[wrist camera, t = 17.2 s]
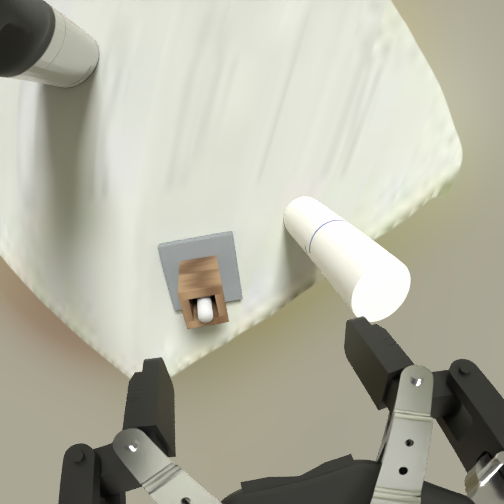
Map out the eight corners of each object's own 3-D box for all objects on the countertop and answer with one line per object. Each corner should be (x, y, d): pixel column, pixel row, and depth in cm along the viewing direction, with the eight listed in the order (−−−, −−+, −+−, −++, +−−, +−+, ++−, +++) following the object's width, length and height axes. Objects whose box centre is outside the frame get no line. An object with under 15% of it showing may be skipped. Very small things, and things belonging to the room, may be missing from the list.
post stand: (175, 306, 55) (172, 356, 42) (158, 244, 50) (149, 284, 37) (241, 294, 56) (255, 342, 44) (231, 230, 51) (245, 267, 39)
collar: (187, 293, 52) (187, 328, 43) (179, 261, 50) (177, 293, 41) (222, 287, 53) (229, 321, 44) (216, 254, 51) (222, 285, 41)
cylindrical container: (325, 197, 52) (417, 258, 29) (321, 237, 54) (400, 317, 32) (285, 196, 50) (358, 261, 28) (281, 237, 53) (345, 325, 30)
